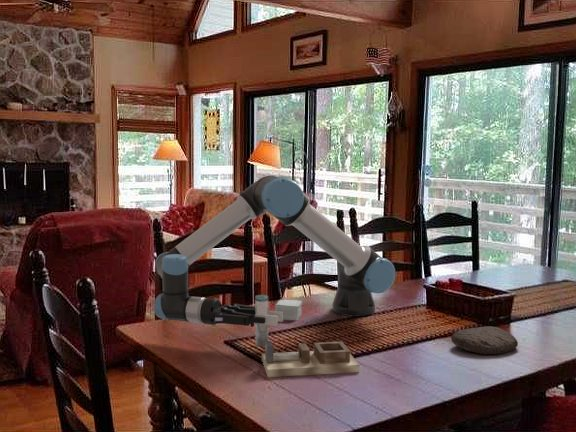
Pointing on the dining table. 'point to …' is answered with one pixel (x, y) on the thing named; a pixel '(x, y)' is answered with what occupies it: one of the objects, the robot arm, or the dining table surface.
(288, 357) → the lock pin
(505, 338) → the decorative stone
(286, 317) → the small box
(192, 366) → the dining table surface
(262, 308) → the silver cylinder
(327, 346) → the dock
